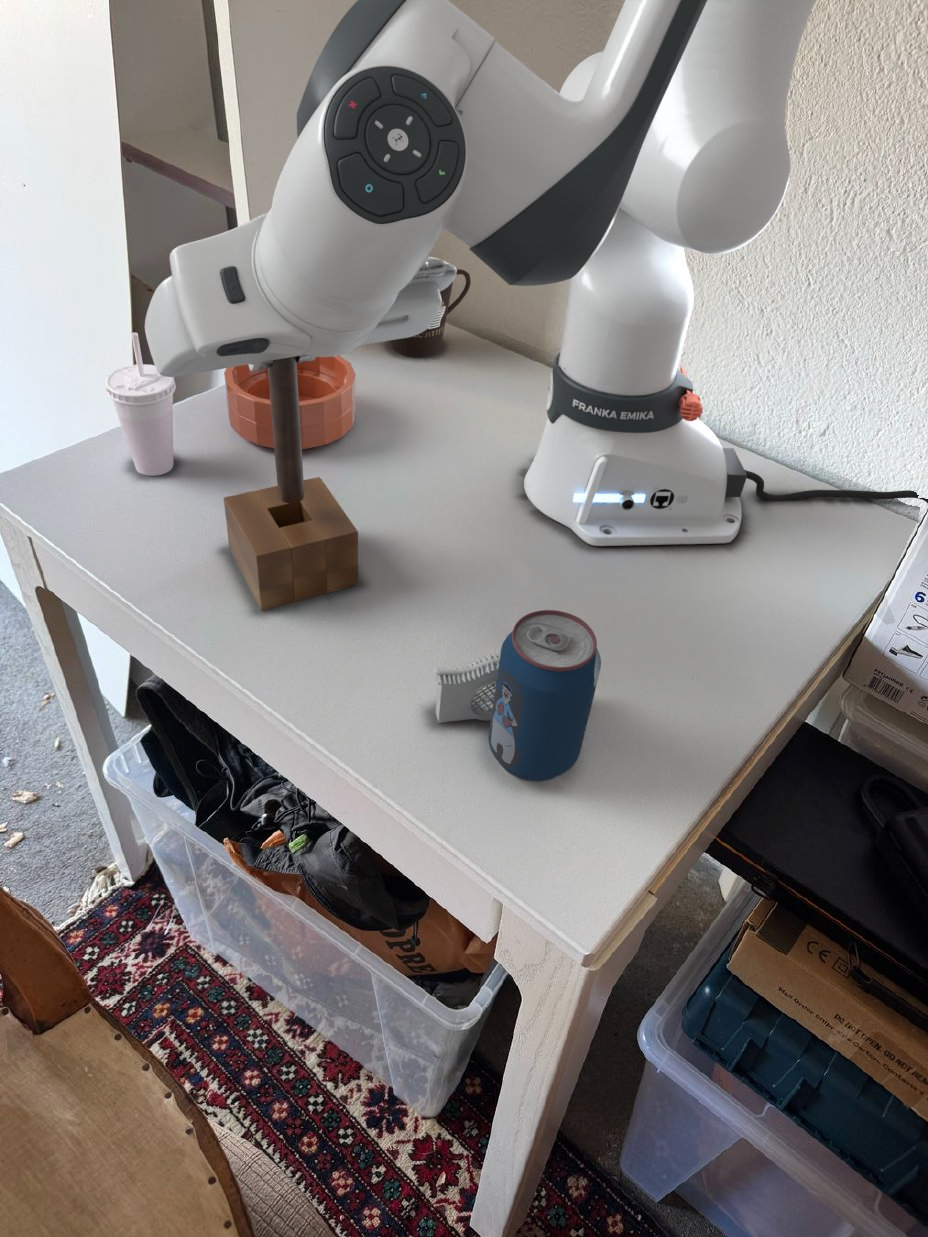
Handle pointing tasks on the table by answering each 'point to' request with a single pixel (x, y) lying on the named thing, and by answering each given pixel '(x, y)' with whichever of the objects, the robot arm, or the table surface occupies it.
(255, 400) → the bowl
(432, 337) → the coffee mug
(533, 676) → the soda can
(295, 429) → the stick
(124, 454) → the table surface
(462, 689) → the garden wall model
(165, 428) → the smoothie
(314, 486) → the stand
